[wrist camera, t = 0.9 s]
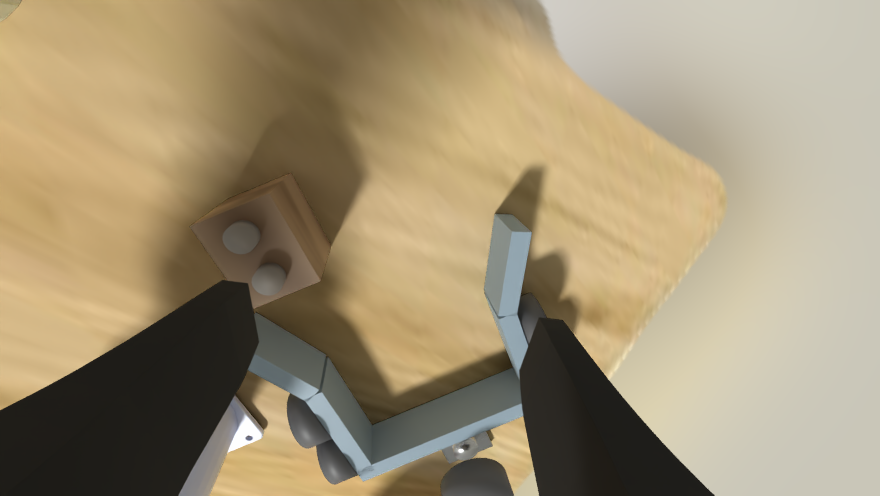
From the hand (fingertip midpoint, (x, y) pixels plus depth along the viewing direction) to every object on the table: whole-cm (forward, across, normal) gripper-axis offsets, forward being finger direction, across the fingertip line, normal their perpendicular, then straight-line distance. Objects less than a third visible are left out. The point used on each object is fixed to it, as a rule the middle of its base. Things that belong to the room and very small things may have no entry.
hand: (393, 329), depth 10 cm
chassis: (+13, -1, +14) cm, 19 cm away
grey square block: (+11, -6, +23) cm, 26 cm away
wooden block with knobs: (+13, +8, +5) cm, 16 cm away
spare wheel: (+7, -6, +22) cm, 24 cm away
